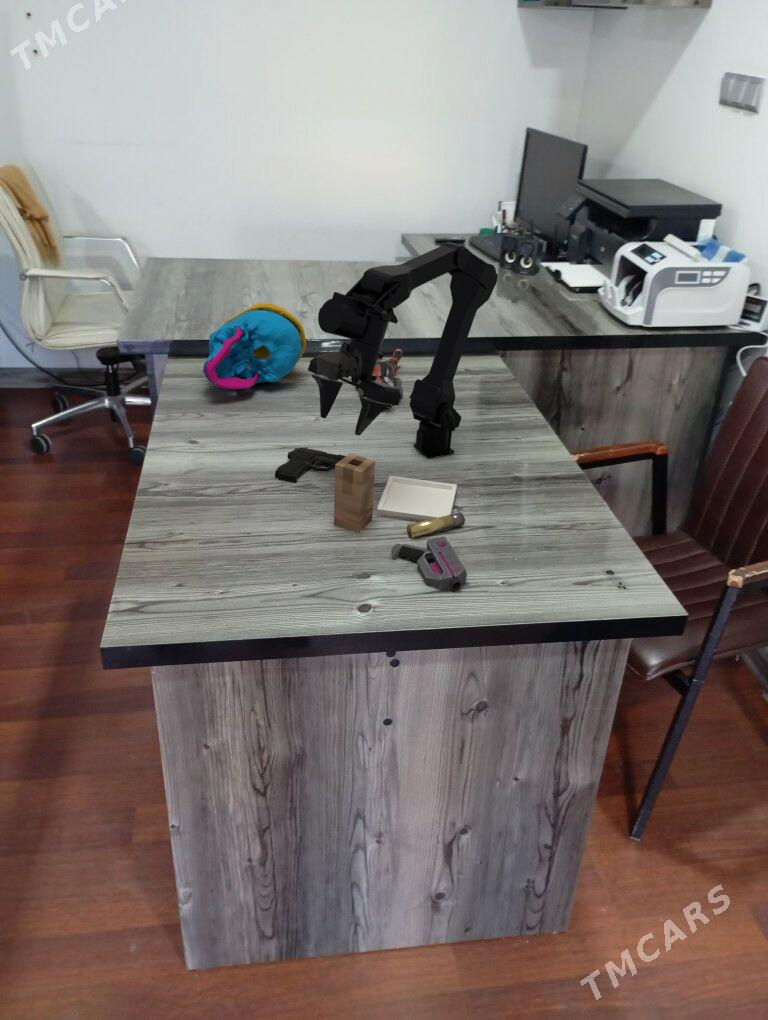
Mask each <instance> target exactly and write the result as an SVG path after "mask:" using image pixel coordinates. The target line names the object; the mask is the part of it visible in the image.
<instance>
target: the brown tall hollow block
mask: <svg viewBox="0 0 768 1020" xmlns="http://www.w3.org/2000/svg"><path fill="white" fill-rule="evenodd" d="M345 456H346V457H344V458H343V459H342V460H341V461H339V462H338V463H337V464H335V468H334V501H333V505H334V506H333V526H335V527H338V528H341V529H344V530H347V531H350V532H354V533H356V534H359V533H361V532H362V531H363V530H364V529H365V528H366V527H367V526H368V525H369V524H371V522H373V514H374V495H375V493H374V492H375V474H376V460H374V459H371V458H367V457H364V456H360V455H356V454H353V453H348V454H347V455H345Z"/></svg>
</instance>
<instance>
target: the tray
mask: <svg viewBox="0 0 768 1020" xmlns="http://www.w3.org/2000/svg"><path fill="white" fill-rule="evenodd" d="M457 489H458V484H454V483H447V482H440V481H433V480H424V479H417V478H411V477H410V478H409V477H402V476H395V475H389V477H388V480H387V481H386V485H385V488H384V490H383V492H382V495H381V498H380V500H379V503H378V506H377V508H376V517H381V518H388V519H395V520H401V521H409V522H413V523H417V522H421V521H425V520H429V519H434V518H438V517H442V516H446V515H450V514H453V508H454V503H455V500H456V499H455V498H456V496H457V495H456V494H457Z"/></svg>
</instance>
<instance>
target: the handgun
mask: <svg viewBox="0 0 768 1020" xmlns="http://www.w3.org/2000/svg"><path fill="white" fill-rule="evenodd" d="M346 456H347V455H343V454H335V453H329V452H326V451H323V450H319V449H312V448H308V447H307V446H305V447H295V448H294V449H293V450H292V451H289V452H288V453H287V460H289V461H287V462H285V463H283V464H281V465H278V467H277V468H276V469H275V472H274V478H275V479H278V481H281V482H287V483H294V484H296V483H297V482H298V479H299V478H300V477H301V476H302V475H303V474H304V473H305V472H307V471H315V472H324V473H325V472H330V471H331V470H332V469H335V464H337V463H338V462H339V461H341V460H342V459H343V458H344V457H346ZM320 465H322V466H321V467H317V466H320Z"/></svg>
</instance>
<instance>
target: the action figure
mask: <svg viewBox="0 0 768 1020" xmlns="http://www.w3.org/2000/svg"><path fill="white" fill-rule="evenodd" d="M402 357H403V350H402V349H401V348H396V349H395V350H394V351H393V354H392V357H391V358H389V360H388V359H387V360H385V361H381V360H377V362H376V365H375V369H374V372H373V375H375V376H377V378H376V382H381V383H386V384H388V385H391V386H393V387H395V388H398V389H399V390H400V393H401V398H400V400H402V399H403V393H404V391H403V388H402V386H403V384H402V380H401V378H400V377H399V376H397V377H396V376H395V375H396V373H397V370H398V367H399V366H398V364H399V362H400V361H401V359H402ZM357 383H359V382H357ZM359 384H360V383H359ZM357 391H358V394H359V395H360V397H365V396H364V393H363V390H362V389H360V388H358V389H357Z"/></svg>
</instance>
